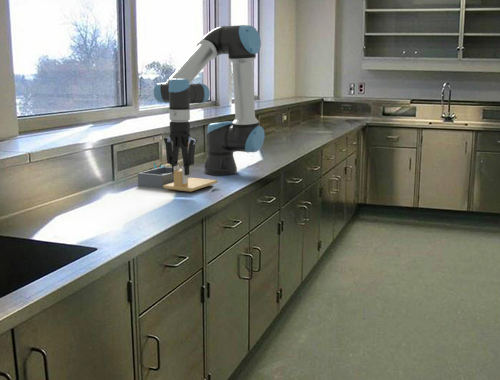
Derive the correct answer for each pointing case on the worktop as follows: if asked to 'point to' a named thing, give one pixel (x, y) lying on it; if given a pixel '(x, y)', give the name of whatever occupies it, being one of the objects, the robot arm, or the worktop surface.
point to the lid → (191, 185)
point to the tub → (156, 177)
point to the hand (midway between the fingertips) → (180, 183)
